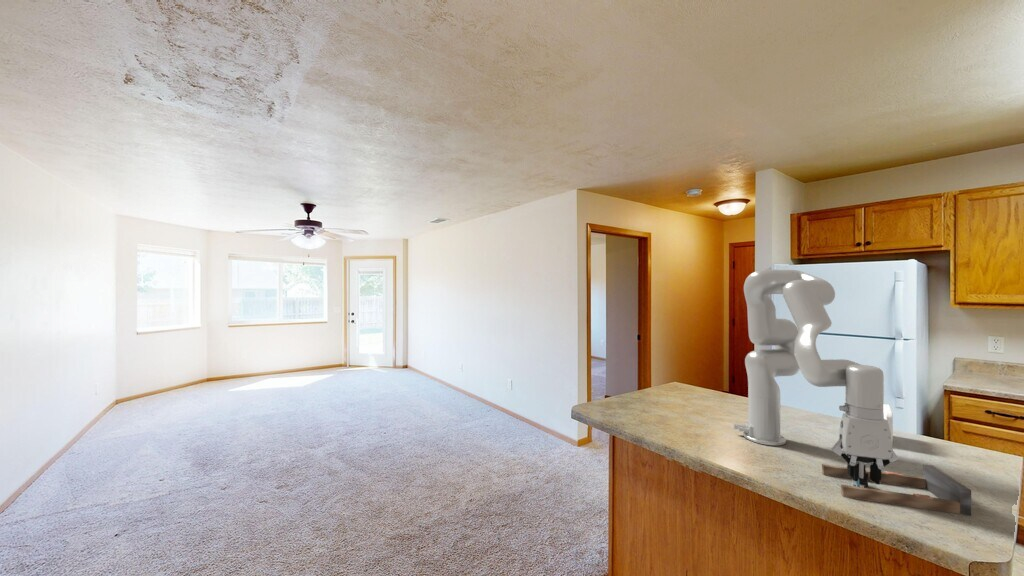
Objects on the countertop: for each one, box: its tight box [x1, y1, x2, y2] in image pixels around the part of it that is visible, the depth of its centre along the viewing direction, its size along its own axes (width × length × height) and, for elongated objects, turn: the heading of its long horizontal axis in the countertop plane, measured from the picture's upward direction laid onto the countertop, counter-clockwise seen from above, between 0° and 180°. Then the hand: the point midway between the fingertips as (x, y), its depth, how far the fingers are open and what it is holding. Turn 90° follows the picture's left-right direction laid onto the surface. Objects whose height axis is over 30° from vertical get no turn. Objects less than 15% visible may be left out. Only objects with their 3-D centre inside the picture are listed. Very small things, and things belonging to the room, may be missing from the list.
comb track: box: [821, 463, 972, 516], centre depth 102 cm, size 24×14×6 cm, turn 70°
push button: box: [854, 456, 874, 488], centre depth 104 cm, size 7×5×10 cm
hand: (864, 479), depth 103 cm, fingers open, 3 cm apart
